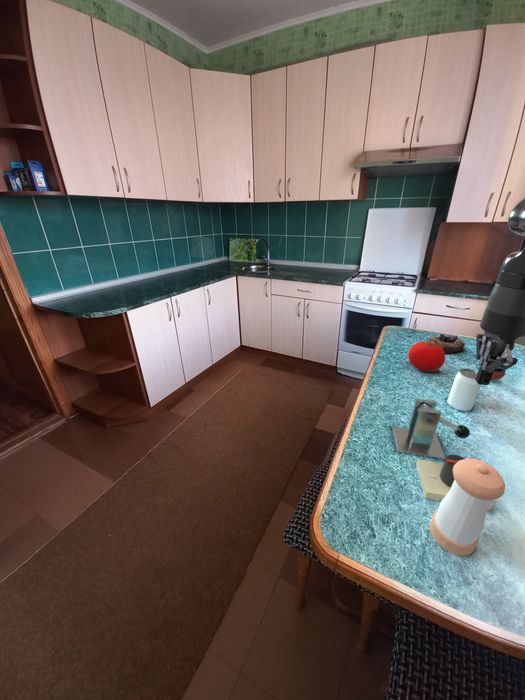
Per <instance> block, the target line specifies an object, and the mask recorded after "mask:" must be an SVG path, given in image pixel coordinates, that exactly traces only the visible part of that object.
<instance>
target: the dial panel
mask: <svg viewBox="0 0 525 700" xmlns="http://www.w3.org/2000/svg"><path fill="white" fill-rule="evenodd" d="M443 464H444V462H439V461H438V462H437V461H432V460H425V459H419V458H418V459H416V463H415V468H416V471H417V476H418V479H419V482H420V486H421V490H422V493H423V498H424V499H425V500H431V501H434V502H435V501H436V502H440V503H441V501H442V500H443V499H444V497H445V496H446V495H447V493H448V492H449V491H450V489H451V487H449V486H447V485H446V484H445V483H444V482H443V481H442V480H441V478H440V472H441V470H442V467H443ZM493 506H494V503H493V501H492V502H491V504H490V506H489V508H488V510H487V512H490V511H491V510H492V508H493Z"/></svg>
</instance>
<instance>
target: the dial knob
mask: <svg viewBox="0 0 525 700" xmlns="http://www.w3.org/2000/svg"><path fill="white" fill-rule="evenodd" d="M445 457H446V459H444V461H443V463H444V464H443V467H442V470H441V472H440V478H441V480H442V481H443V482H444V483H445V484H446V485H447V486H449V487H452V484H453V482H454V480H455V479H454V475H453V467H454V465H455V464H456V463H457V462H458V461H460V460H464V459H466V458H465V457H463V456H461V455H458V454H448V455H447V456H445Z"/></svg>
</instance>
